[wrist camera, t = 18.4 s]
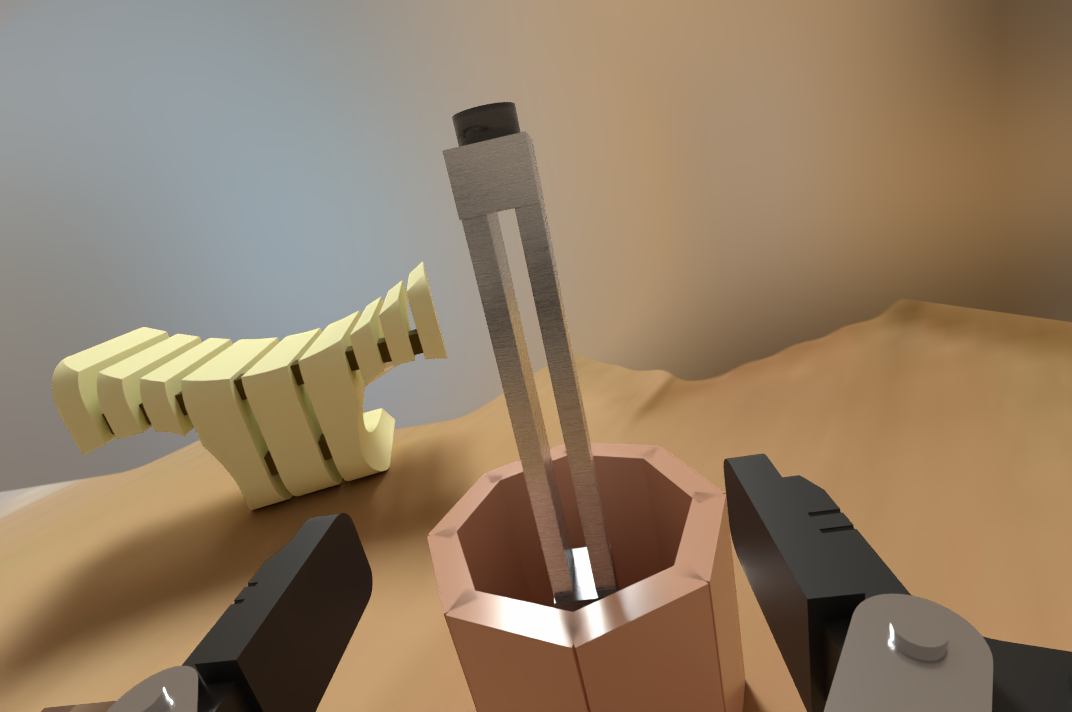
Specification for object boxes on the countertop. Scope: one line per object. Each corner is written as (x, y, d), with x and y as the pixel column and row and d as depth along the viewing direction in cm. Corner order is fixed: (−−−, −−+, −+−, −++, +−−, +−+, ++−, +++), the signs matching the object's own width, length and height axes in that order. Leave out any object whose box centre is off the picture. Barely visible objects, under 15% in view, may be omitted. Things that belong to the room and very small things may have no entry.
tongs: (578, 650, 24) (455, 126, 17) (629, 645, 24) (526, 109, 17) (580, 711, 22) (433, 113, 14) (638, 706, 21) (518, 93, 14)
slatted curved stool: (140, 558, 43) (35, 369, 38) (211, 470, 58) (143, 326, 53) (475, 457, 48) (424, 276, 42) (461, 400, 63) (422, 261, 57)
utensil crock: (443, 779, 21) (371, 596, 18) (550, 581, 31) (514, 439, 28) (725, 907, 16) (691, 678, 13) (750, 620, 25) (734, 448, 22)
